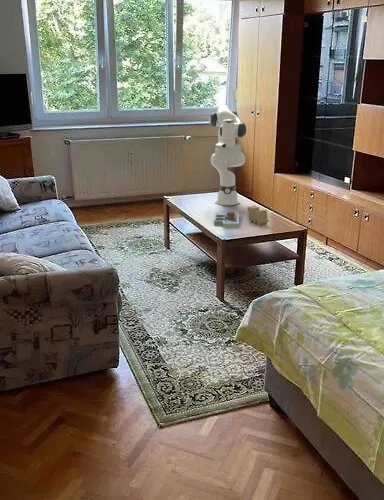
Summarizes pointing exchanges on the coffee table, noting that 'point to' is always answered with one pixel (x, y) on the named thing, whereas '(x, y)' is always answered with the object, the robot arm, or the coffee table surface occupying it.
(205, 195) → the coffee table surface
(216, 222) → the trap lane
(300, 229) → the coffee table surface
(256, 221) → the toy train
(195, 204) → the coffee table surface
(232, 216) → the block
